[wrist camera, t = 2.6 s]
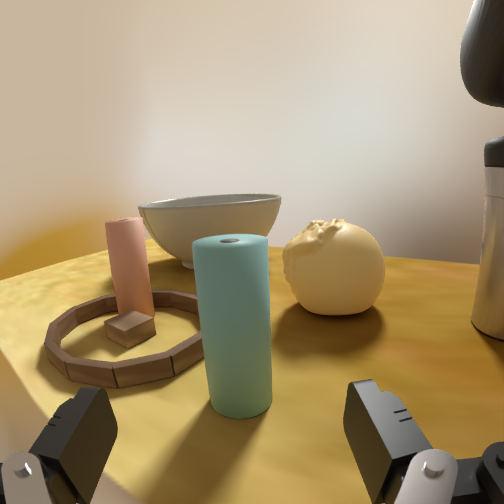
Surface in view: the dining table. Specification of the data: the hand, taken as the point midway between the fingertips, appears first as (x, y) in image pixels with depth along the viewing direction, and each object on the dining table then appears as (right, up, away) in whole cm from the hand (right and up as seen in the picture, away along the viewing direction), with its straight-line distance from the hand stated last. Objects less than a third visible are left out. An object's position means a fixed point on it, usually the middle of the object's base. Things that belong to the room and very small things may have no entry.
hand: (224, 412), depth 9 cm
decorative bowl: (-7, +3, +53) cm, 54 cm away
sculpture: (+11, -2, +29) cm, 31 cm away
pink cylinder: (-13, -3, +29) cm, 32 cm away
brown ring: (-12, -4, +23) cm, 27 cm away
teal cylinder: (0, -6, +13) cm, 14 cm away
